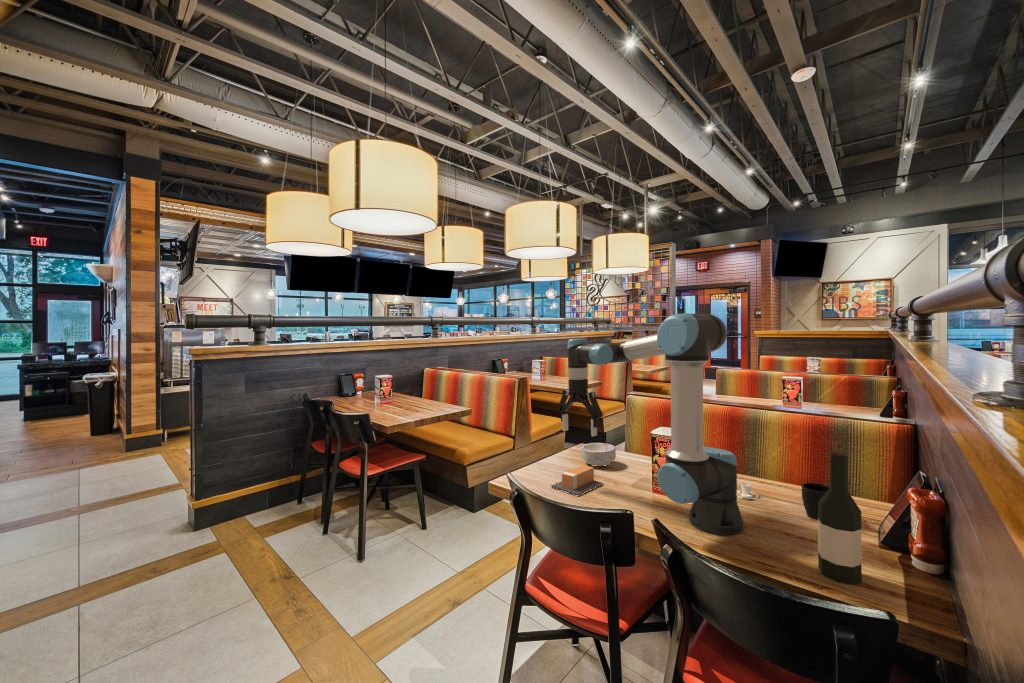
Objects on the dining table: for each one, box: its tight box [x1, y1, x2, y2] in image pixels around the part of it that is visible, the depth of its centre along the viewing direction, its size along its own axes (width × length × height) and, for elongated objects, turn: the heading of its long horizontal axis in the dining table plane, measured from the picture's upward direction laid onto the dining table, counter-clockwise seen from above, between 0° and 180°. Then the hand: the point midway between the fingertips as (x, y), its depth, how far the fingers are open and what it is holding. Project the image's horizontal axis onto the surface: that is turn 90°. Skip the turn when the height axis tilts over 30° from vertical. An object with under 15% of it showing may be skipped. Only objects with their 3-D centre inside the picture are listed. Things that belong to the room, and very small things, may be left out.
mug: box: [801, 482, 830, 521], centre depth 131 cm, size 8×12×10 cm
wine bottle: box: [817, 449, 863, 586], centre depth 102 cm, size 8×8×30 cm
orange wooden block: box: [561, 464, 595, 490], centre depth 164 cm, size 5×5×14 cm
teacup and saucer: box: [737, 482, 760, 500], centre depth 151 cm, size 9×8×4 cm
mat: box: [550, 479, 604, 496], centre depth 164 cm, size 13×16×1 cm
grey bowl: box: [580, 442, 617, 466], centre depth 190 cm, size 15×15×8 cm
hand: (579, 433), depth 163 cm, fingers open, 13 cm apart
